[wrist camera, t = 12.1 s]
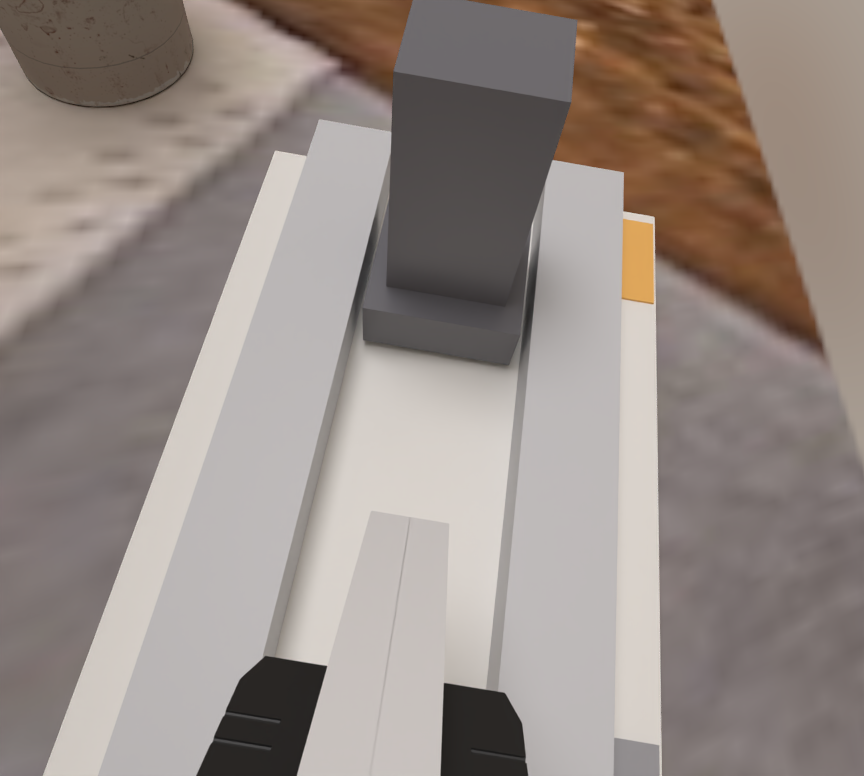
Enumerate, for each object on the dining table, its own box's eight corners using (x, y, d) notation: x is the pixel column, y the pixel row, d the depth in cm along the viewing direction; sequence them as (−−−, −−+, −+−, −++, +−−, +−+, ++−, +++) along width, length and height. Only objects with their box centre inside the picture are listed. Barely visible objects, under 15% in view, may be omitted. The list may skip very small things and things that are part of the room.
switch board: (634, 930, 18) (700, 982, 14) (53, 831, 18) (-27, 859, 14) (636, 247, 29) (674, 181, 25) (281, 185, 29) (268, 110, 25)
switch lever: (508, 365, 23) (596, 138, 14) (362, 340, 23) (357, 96, 14) (521, 254, 25) (602, -1, 16) (388, 231, 25) (398, -37, 16)
